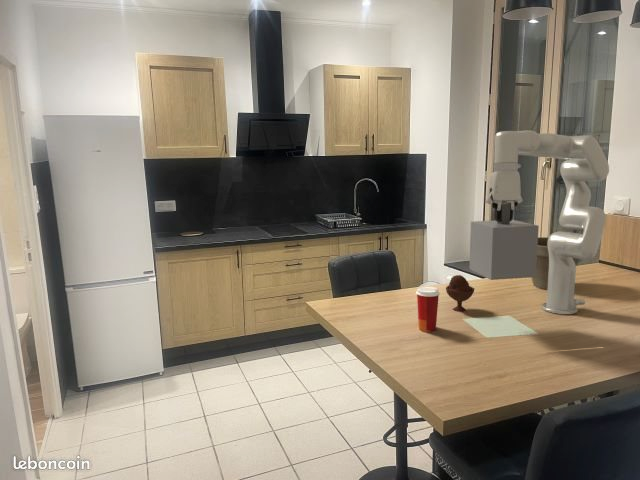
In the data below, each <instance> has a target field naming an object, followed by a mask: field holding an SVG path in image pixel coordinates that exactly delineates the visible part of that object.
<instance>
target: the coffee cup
mask: <svg viewBox="0 0 640 480" xmlns="http://www.w3.org/2000/svg"><path fill="white" fill-rule="evenodd" d="M415 294H416V298H417V301H416V302H417V303H416V304H417V316H418V317H417V318H418V321H417V322H418V330H419V331H421V332H423V333H432V332H435V331H436V329H437V322H438V321H437V318H438V307H439V296H440V294H441V293H440V292H439V289H438V288H437V287H434V286H433V287H432V286H422V287H421V286H420V287H418V288H417V289H416V292H415Z"/></svg>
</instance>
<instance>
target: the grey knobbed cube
mask: <svg viewBox="0 0 640 480" xmlns="http://www.w3.org/2000/svg"><path fill="white" fill-rule="evenodd" d="M501 210H502V221H501V222H498V221H495V220H477V221H476V220H475V221H470V235H469V237H470V240H469V243H470V244H469V270H471V271H472V272H474V273H476V274H479V275H481V276H482V277H484V278H486V279H488V280H490V281H495V280H496V281H498V280H510V279H512V280H513V279H526V278H528V279H529V278H530V279H531V277H536V264H537V246H538V237H539V225H538V224H533V223H528V222H524V221H520V220H515V219H512V221H510V204H508V203H507V202H502V203H501Z"/></svg>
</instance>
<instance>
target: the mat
mask: <svg viewBox="0 0 640 480" xmlns="http://www.w3.org/2000/svg"><path fill="white" fill-rule="evenodd" d="M462 320H463V321H464V322H466V323H467V324H468V325H469V326H471V327H472V328H474V330H476V331H477V332H479V333H480V334H481V335H482V336H483V337H485V338H490V339H491V338H500V337H513V336H524V335H525V336H526V335H527V336H528V335H538V334H539V333H538V332H536V331H535V330H533V329H532V328H530V327H528V326H527V325H525V324H524V323H522V322H521V321H518V320H517V319H516V318H514V317H512V316H511V315H499V316H486V317H474V318H473V317H470V318H462Z"/></svg>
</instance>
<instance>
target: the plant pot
mask: <svg viewBox="0 0 640 480" xmlns="http://www.w3.org/2000/svg"><path fill="white" fill-rule="evenodd" d="M548 238H549V237H548V236H547V237H539V236H538V246H537V264H536V277H530V279H531V282H532V285H533V286H534V287H535V288H538V289H541V290H546V291H547V289H548V273H549V252H548V246H547V242H548ZM573 260H574V262H575V265H576V266H577V265H578V262H579V260H580V259H577V258H573Z"/></svg>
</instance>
